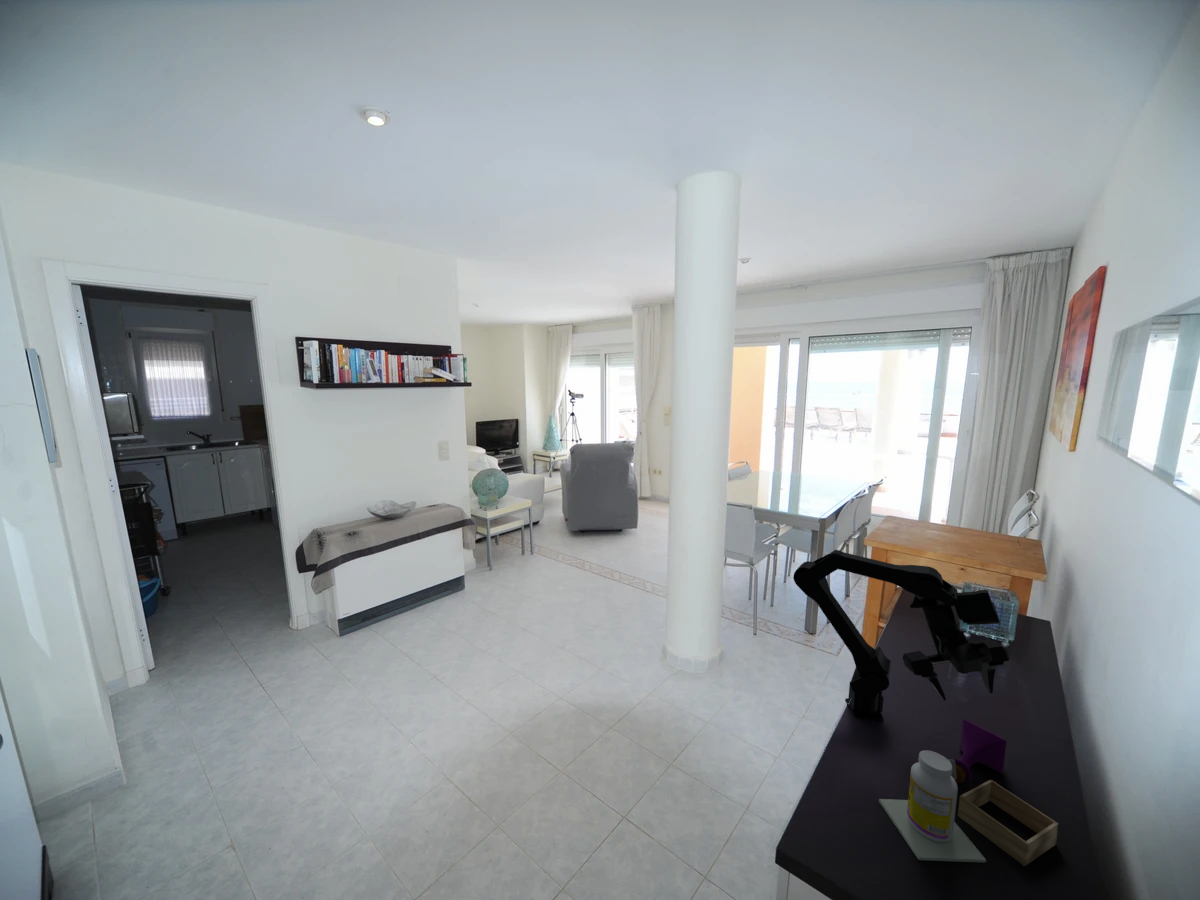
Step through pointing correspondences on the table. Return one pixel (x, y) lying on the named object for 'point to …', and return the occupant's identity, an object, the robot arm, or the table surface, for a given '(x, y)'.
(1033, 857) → the wooden box
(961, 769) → the perfume bottle
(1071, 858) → the table surface
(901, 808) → the sage mat
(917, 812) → the supplement bottle
